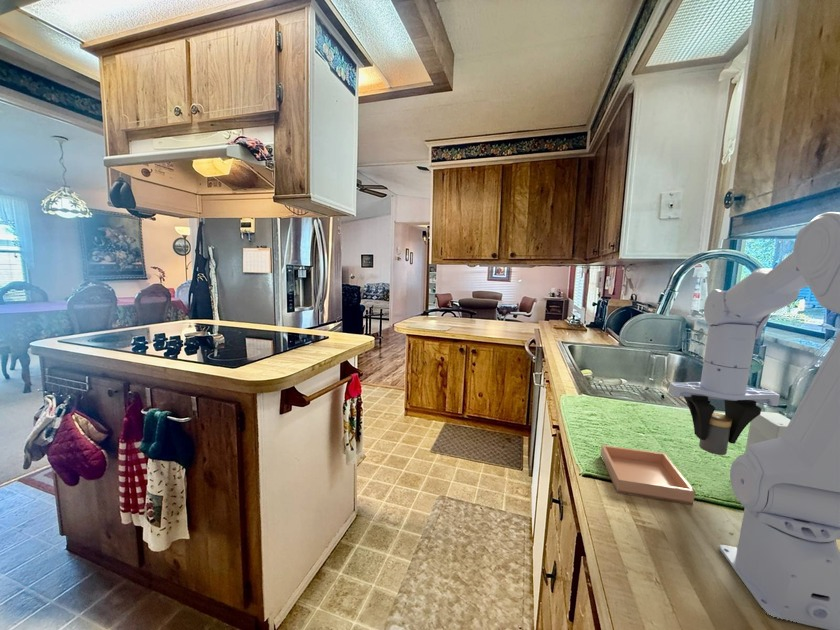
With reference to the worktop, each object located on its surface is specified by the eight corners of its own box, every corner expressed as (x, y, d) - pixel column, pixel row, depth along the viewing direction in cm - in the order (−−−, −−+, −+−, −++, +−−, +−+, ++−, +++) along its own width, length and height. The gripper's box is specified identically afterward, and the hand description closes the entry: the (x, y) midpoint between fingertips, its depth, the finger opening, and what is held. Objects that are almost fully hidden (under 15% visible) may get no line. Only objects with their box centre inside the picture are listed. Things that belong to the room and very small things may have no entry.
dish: (692, 505, 54) (695, 491, 53) (617, 492, 57) (618, 479, 56) (663, 464, 64) (664, 453, 64) (600, 456, 67) (601, 445, 67)
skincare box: (795, 494, 56) (809, 428, 54) (766, 490, 57) (778, 426, 55) (766, 471, 62) (778, 412, 60) (740, 469, 63) (750, 410, 61)
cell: (731, 456, 55) (737, 423, 54) (705, 453, 56) (711, 420, 55) (718, 444, 59) (723, 413, 58) (694, 442, 60) (699, 410, 59)
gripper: (762, 359, 57) (749, 432, 59) (665, 353, 61) (656, 422, 63) (796, 373, 50) (780, 455, 52) (684, 365, 54) (673, 442, 56)
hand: (714, 438), depth 57 cm, fingers closed on cell, 4 cm apart
